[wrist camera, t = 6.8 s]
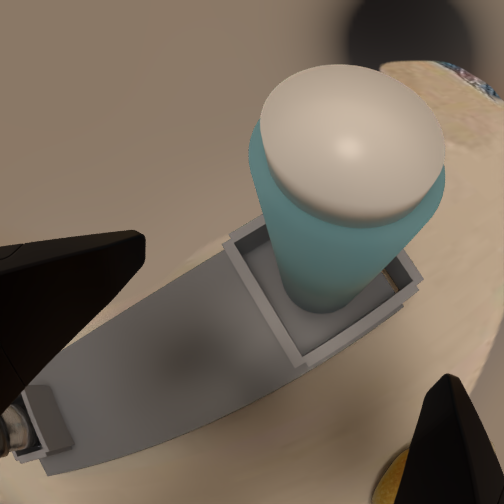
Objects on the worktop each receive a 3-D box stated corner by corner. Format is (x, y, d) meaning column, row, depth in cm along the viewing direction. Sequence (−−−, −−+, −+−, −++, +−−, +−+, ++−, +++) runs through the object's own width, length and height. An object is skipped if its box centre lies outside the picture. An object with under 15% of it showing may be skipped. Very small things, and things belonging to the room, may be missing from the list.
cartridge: (370, 301, 17) (496, 199, 5) (292, 322, 17) (271, 259, 5) (347, 227, 18) (397, 50, 6) (273, 246, 19) (224, 76, 7)
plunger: (61, 450, 16) (6, 463, 10) (30, 444, 16) (-21, 452, 10) (49, 400, 17) (-9, 403, 11) (20, 398, 17) (-33, 398, 12)
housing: (332, 192, 20) (337, 159, 17) (409, 300, 17) (434, 288, 14) (17, 384, 19) (-15, 383, 16) (54, 473, 16) (24, 483, 13)
